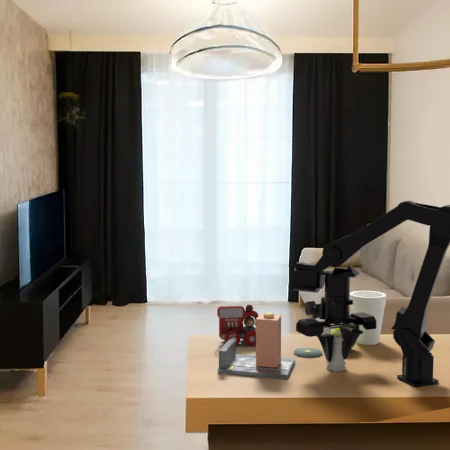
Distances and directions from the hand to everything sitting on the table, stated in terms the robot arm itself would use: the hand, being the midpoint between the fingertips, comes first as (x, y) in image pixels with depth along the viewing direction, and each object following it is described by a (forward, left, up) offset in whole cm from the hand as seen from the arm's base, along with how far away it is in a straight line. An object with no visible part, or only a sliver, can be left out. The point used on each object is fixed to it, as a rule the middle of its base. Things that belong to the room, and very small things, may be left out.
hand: (336, 360), depth 144 cm
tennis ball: (+12, -10, -2) cm, 16 cm away
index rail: (+8, +17, -2) cm, 19 cm away
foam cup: (+16, -20, -2) cm, 26 cm away
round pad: (+13, 0, -2) cm, 13 cm away
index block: (+6, +15, -1) cm, 16 cm away
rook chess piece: (0, 0, -2) cm, 2 cm away
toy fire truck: (+28, +12, -2) cm, 31 cm away
